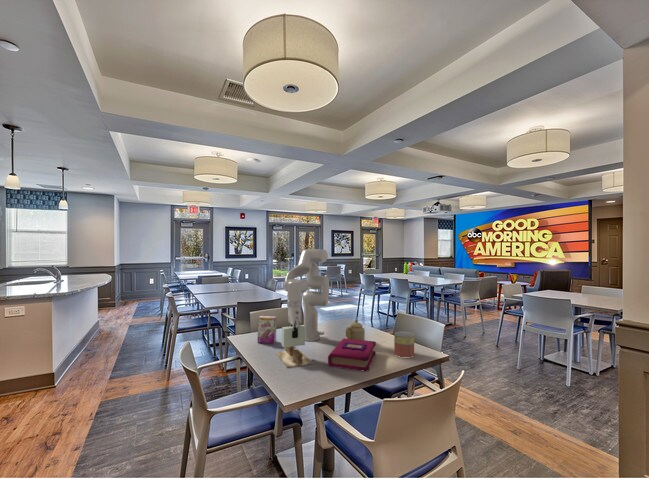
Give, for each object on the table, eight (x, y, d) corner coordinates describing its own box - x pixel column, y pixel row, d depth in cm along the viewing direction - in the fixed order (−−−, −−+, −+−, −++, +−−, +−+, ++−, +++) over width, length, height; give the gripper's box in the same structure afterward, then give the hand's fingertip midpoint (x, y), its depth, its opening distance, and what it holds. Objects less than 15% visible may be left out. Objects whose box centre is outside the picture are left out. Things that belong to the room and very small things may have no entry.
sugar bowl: (362, 347, 187) (362, 322, 187) (345, 345, 190) (345, 321, 190) (365, 339, 201) (365, 317, 202) (349, 338, 204) (349, 316, 204)
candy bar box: (257, 343, 192) (257, 317, 192) (259, 340, 197) (260, 315, 197) (274, 344, 191) (274, 318, 191) (276, 341, 196) (276, 316, 196)
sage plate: (302, 342, 171) (302, 325, 171) (304, 344, 167) (305, 326, 167) (281, 345, 166) (282, 327, 166) (283, 347, 162) (284, 329, 163)
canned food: (396, 350, 182) (396, 330, 182) (415, 353, 177) (415, 332, 177) (392, 356, 172) (392, 335, 172) (412, 359, 167) (412, 338, 167)
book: (327, 366, 157) (327, 352, 157) (341, 349, 183) (341, 336, 184) (367, 372, 150) (368, 357, 150) (375, 353, 177) (376, 340, 177)
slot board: (298, 350, 179) (298, 340, 180) (312, 363, 159) (312, 352, 160) (275, 353, 174) (276, 343, 174) (287, 367, 154) (287, 356, 154)
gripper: (305, 305, 161) (305, 340, 161) (295, 300, 176) (295, 332, 176) (292, 306, 158) (291, 341, 158) (283, 301, 173) (282, 333, 173)
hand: (293, 336), depth 167 cm, fingers closed on sage plate, 4 cm apart
